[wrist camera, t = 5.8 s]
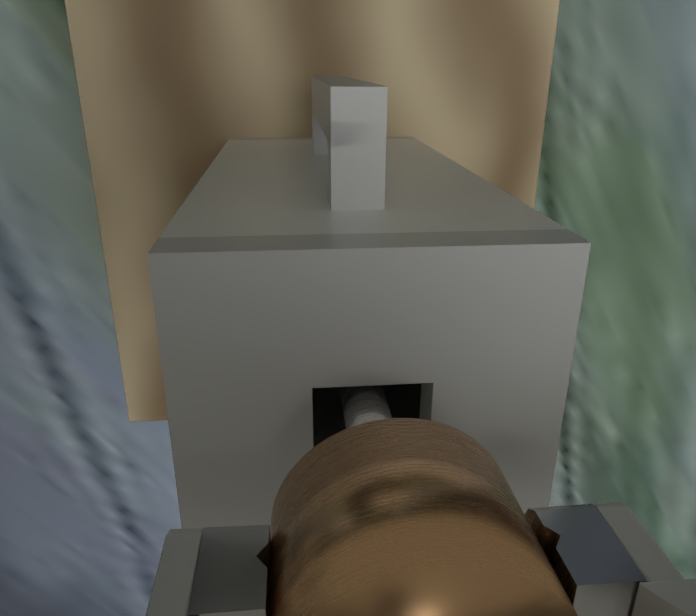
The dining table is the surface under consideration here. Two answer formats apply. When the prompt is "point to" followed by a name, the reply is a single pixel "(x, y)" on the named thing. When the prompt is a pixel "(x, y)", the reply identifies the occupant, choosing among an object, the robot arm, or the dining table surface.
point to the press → (355, 306)
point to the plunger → (404, 526)
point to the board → (284, 108)
